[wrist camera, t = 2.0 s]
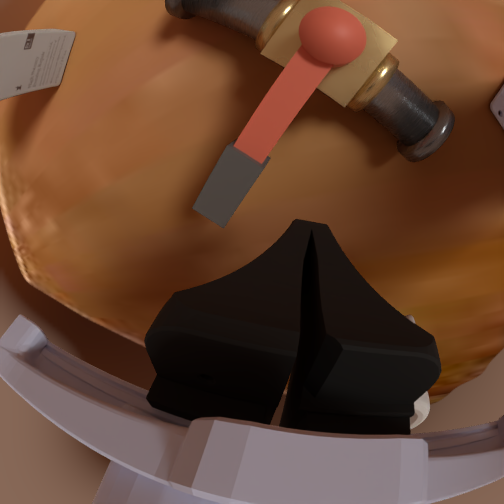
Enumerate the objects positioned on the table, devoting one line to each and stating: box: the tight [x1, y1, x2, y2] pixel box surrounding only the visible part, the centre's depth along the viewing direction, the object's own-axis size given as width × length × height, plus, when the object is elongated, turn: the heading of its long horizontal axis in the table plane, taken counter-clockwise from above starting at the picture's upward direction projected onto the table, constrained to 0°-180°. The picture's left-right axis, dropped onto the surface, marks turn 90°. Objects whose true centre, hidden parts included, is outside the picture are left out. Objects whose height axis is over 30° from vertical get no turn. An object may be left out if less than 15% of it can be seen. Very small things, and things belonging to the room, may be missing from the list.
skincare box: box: [0, 29, 75, 101], centre depth 11 cm, size 6×4×12 cm
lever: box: [192, 6, 366, 228], centre depth 11 cm, size 12×3×2 cm, turn 149°
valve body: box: [255, 0, 399, 112], centre depth 12 cm, size 7×5×5 cm
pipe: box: [165, 0, 455, 162], centre depth 12 cm, size 18×5×5 cm, turn 58°
